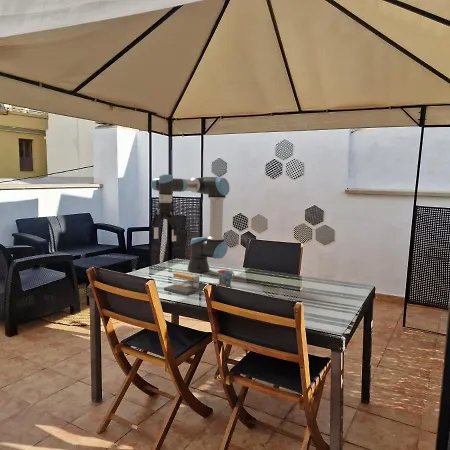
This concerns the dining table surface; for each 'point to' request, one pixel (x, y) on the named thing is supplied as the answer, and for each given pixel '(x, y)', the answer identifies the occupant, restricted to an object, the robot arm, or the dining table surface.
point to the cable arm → (186, 276)
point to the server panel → (186, 287)
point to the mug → (225, 277)
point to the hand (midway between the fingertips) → (164, 239)
